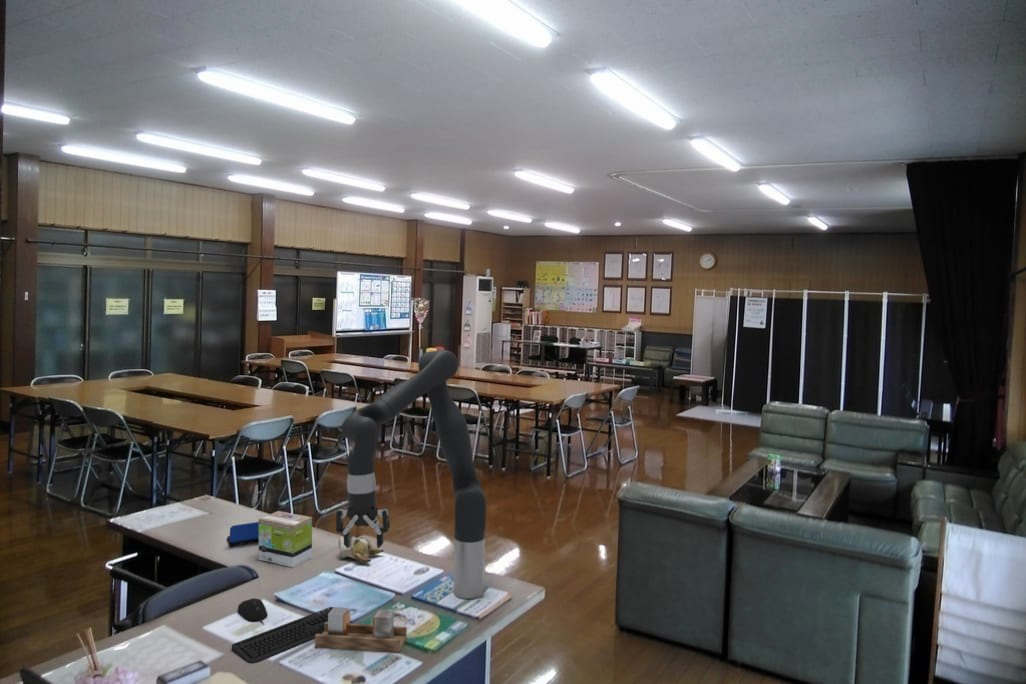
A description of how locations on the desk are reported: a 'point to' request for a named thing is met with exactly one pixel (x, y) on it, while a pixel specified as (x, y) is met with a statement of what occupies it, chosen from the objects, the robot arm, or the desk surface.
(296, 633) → the keyboard
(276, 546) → the tea box
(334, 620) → the gray metallic block
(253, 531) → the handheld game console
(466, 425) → the robot arm
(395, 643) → the rail
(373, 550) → the ceramic sculpture
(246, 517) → the desk surface
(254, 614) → the gaming mouse
